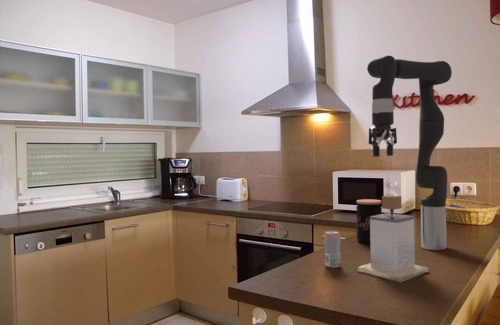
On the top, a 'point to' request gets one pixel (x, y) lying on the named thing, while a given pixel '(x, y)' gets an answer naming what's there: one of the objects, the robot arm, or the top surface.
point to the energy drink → (332, 249)
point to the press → (392, 248)
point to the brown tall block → (391, 203)
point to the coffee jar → (366, 217)
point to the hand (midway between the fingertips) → (383, 156)
